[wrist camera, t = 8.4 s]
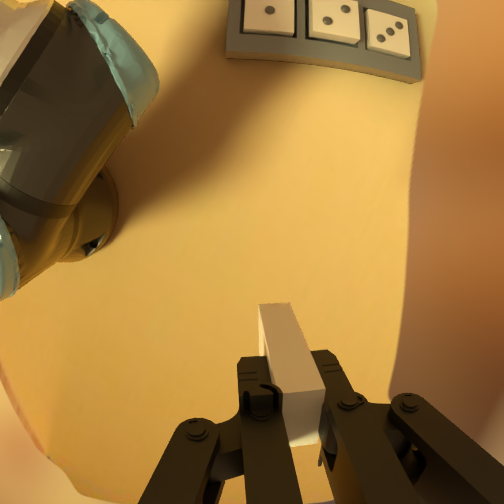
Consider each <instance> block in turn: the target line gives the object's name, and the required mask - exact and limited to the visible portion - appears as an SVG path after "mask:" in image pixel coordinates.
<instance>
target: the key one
mask: <svg viewBox="0 0 504 504" xmlns="http://www.w3.org/2000/svg"><path fill="white" fill-rule="evenodd" d="M243 34H255V35H270V36H281V37H292V36H293V34H294V0H245V9H244V27H243Z"/></svg>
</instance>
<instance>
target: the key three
mask: <svg viewBox="0 0 504 504" xmlns="http://www.w3.org/2000/svg"><path fill="white" fill-rule="evenodd" d="M364 29H365V49H366V50H369V51H374V52H378V53H382V54H386V55H390V56H394V57H398V58H401V59H406V58H408V57H410V45H409V34H408V24H407V20H406V19H403V18H400V17H396V16H393V15H390V14H386V13H383V12H379V11H375V10H372V9H367V10H366V11H365V12H364Z"/></svg>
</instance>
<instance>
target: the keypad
mask: <svg viewBox="0 0 504 504" xmlns="http://www.w3.org/2000/svg"><path fill="white" fill-rule="evenodd" d="M353 1H358V11H359V27H360V40H359V41H358V42H357V43H355V44H350V43H345V42H340V41H334V40H328V39H322V38H315V37H309V0H294V34H293V36H292V37H281V36H270V35H255V34H243V27H244V9H245V0H229V7H228V21H227V37H226V58H227V59H254V60H270V61H282V62H292V63H302V64H310V65H318V66H325V67H332V68H338V69H344V70H350V71H355V72H360V73H365V74H370V75H375V76H380V77H384V78H389V79H393V80H397V81H401V82H405V83H409V84H412V83H414V82H417V81H420V80H421V68H420V53H419V42H418V31H417V23H416V15H415V9H414V8H411V7H408V6H405V5H402V4H399V3H396V2H393V1H389V0H353ZM367 9H372V10H375V11H379V12H383V13H386V14H390V15H393V16H396V17H400V18H403V19H406V20H407V24H408V34H409V45H410V57H408V58H406V59H401V58H398V57H394V56H390V55H386V54H382V53H378V52H374V51H369V50H366V49H365V29H364V12H365V11H366V10H367Z"/></svg>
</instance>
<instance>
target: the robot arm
mask: <svg viewBox="0 0 504 504" xmlns="http://www.w3.org/2000/svg"><path fill="white" fill-rule="evenodd" d="M158 90H159V78H158V73H157V71H156V69H155V67H154V65H153V63H152V62H151V60H150V59H149V57H148V56H147V55H146V53H145V52H144V51H143V49H142V48H141V47H140V46H139V45H138V43H137V42H136V41H135V40H134V39H133V38H132V37H131V36H130V34H129V33H128V32H127V31H126V30H125V29H124V28H123V27H122V26H121V25H120V24H119V23H118V22H117V21H115V20H114V19H111V18H109V15H108V14H106V13H105V12H104V11H103V10H102V9H101V8H100V7H99V6H98V5H97V4H95V3H94V2H92V1H90V0H74V1H71V2H69V3H68V4H67V5H66V8H65V7H63V6H62V5H61V4H59V3H58V2H56V1H55V0H37V1H33V2H29V3H19V2H18V1H16V0H0V301H2V300H4V299H6V298H9V297H11V296H13V295H14V294H15V292H16V291H17V290H18V289H20V288H21V287H22V286H24V285H25V284H27V283H28V282H29V281H31V280H32V279H33V278H35V277H36V276H38V275H39V274H40V273H42V272H43V271H45V270H46V269H47V268H49V267H50V266H52V265H53V264H55V263H56V262H76V261H80V260H83V259H85V258H87V257H89V256H91V255H92V254H93V253H95V252H96V251H97V250H99V249H100V248H101V247H102V246H103V245H104V244H105V243H106V242H107V240H108V239H109V237H110V236H111V234H112V232H113V229H114V227H115V224H116V220H117V214H118V197H117V191H116V187H115V184H114V181H113V179H112V177H111V175H110V173H109V172H108V170H107V169H106V167H105V166H104V164H105V163H106V161H107V160H108V158H109V157H110V156H111V154H112V153H113V152H114V150H115V149H116V147H117V146H118V145H119V143H120V142H121V141H122V139H123V138H124V137H125V135H126V134H127V133H128V132H129V130H130V129H134V128H135V127H136V125H137V123H138V119H139V118H140V116H141V115H142V114H143V112H144V111H145V110H146V108H147V107H148V106H149V104H150V103H151V102H152V101H153V99H154V98H155V97H156V95H157V93H158ZM258 309H259V354H260V356H253V357H241V359H240V361H239V362H238V364H237V375H238V392H239V410H238V412H237V414H236V415H235V416H234V417H233V418H231V419H229V420H228V421H225V422H222V423H218V424H215V423H213V422H212V421H210V420H207V419H204V418H192V419H188V420H185V421H184V422H182V423H180V424H179V426H178V427H177V428H176V430H175V432H174V434H173V436H172V438H171V439H170V441H169V443H168V445H167V447H166V449H165V451H164V453H163V455H162V457H161V459H160V461H159V463H158V465H157V467H156V469H155V471H154V473H153V475H152V477H151V479H150V481H149V483H148V485H147V487H146V489H145V490H144V492H143V494H142V496H141V498H140V500H139V502H138V504H218V503H219V500H220V497H221V494H222V490H223V487H224V484H225V480H228V479H231V478H234V477H237V476H241V475H244V479H245V491H246V503H247V504H303V502H302V497H301V493H300V489H299V484H298V480H297V475H296V471H295V467H294V462H293V458H292V453H291V449H290V447H294V446H302V445H310V444H317V442H318V436H320V440H321V443H322V444H321V450H320V455H319V460H318V466H321V465H322V461H323V464H324V467H325V470H326V474H327V477H328V480H329V484H330V487H331V490H332V493H333V497H334V500H335V503H336V504H504V466H503V465H502V464H501V463H499V462H498V461H497V460H496V459H495V458H494V457H492V456H491V455H490V454H489V453H488V452H486V451H485V450H484V449H483V448H481V446H479V445H478V444H477V443H476V442H474V441H473V440H472V439H471V438H470V437H469V436H467V435H466V434H465V433H464V432H463V431H461V430H460V429H459V428H458V427H457V426H456V425H454V424H453V423H452V422H451V421H450V420H448V419H447V418H446V417H445V416H444V415H443V414H441V413H440V412H439V411H438V410H437V409H435V408H434V407H433V406H432V405H430V403H428V402H427V401H426V400H425V399H424V398H422V397H420V396H419V395H417V394H413V393H402V394H398V395H397V396H395V397H394V398H393V399H392V401H391V404H377V403H370V402H368V401H367V399H366V398H365V397H364V396H363V395H361V394H359V393H357V392H354V390H353V388H352V386H351V384H350V382H349V381H348V379H347V377H346V375H345V373H344V371H343V369H342V367H341V365H339V362H338V360H337V358H336V356H335V355H334V354H333V353H331V352H330V351H328V350H318V351H310V350H309V347H308V345H307V343H306V340H305V338H304V335H303V333H302V331H301V328H300V326H299V324H298V321H297V319H296V317H295V314H294V312H293V310H292V307H291V305H290V303H273V304H258Z"/></svg>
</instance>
